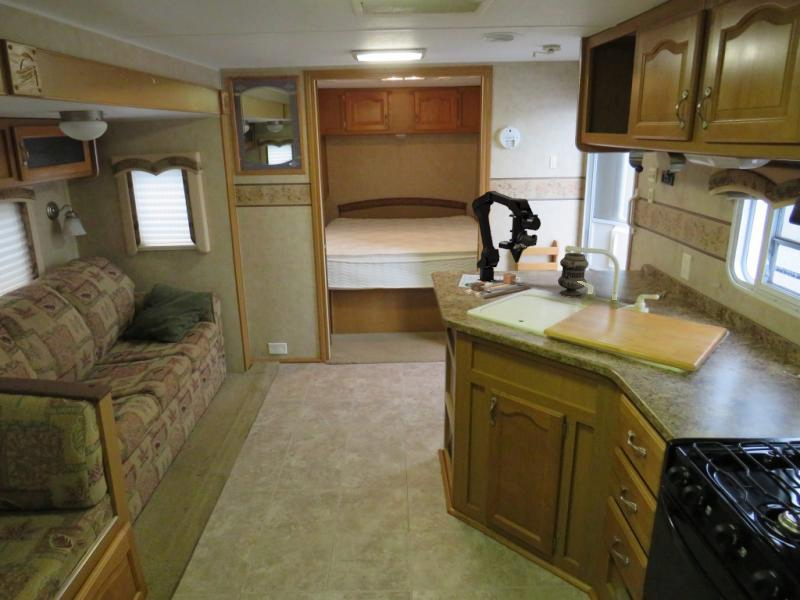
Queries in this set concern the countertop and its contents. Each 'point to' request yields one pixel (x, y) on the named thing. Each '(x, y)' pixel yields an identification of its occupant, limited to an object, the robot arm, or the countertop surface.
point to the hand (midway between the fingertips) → (516, 262)
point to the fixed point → (478, 286)
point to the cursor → (510, 278)
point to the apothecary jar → (572, 274)
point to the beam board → (497, 289)
